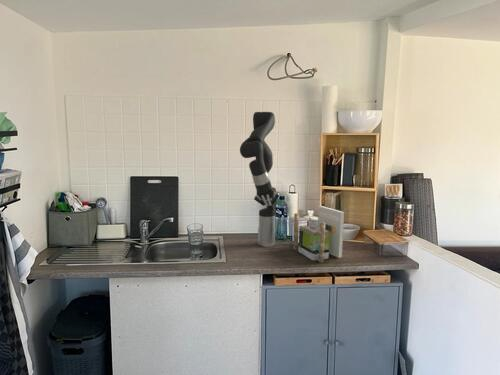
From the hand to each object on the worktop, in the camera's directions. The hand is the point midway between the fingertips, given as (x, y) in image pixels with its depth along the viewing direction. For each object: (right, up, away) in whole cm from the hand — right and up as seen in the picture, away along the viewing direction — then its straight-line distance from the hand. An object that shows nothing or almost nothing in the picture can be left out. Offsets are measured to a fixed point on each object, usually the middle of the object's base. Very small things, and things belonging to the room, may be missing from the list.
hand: (271, 211), depth 183 cm
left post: (+15, -23, +22) cm, 35 cm away
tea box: (+23, -24, +13) cm, 36 cm away
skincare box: (+27, -22, +32) cm, 47 cm away
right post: (+25, -26, +3) cm, 36 cm away
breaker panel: (+32, -24, +18) cm, 43 cm away
